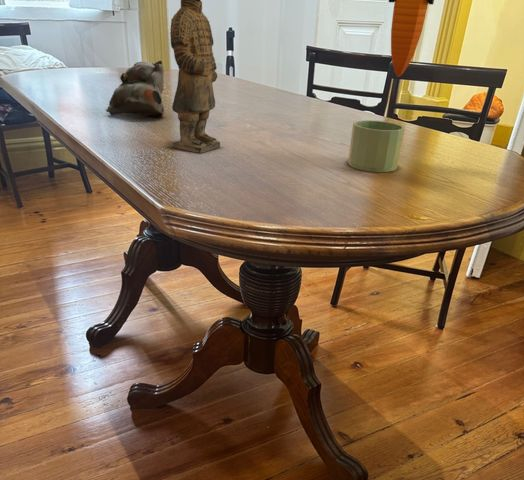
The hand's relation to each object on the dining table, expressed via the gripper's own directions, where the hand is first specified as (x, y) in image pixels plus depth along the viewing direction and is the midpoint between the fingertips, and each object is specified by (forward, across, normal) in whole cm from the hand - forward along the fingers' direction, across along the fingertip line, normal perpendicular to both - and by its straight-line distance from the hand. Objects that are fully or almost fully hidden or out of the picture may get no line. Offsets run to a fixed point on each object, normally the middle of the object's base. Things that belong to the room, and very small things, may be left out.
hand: (411, 1), depth 75 cm
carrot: (+10, 0, 0) cm, 10 cm away
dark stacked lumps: (+25, -62, +26) cm, 72 cm away
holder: (+25, -2, +7) cm, 26 cm away
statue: (+26, -36, +4) cm, 45 cm away
